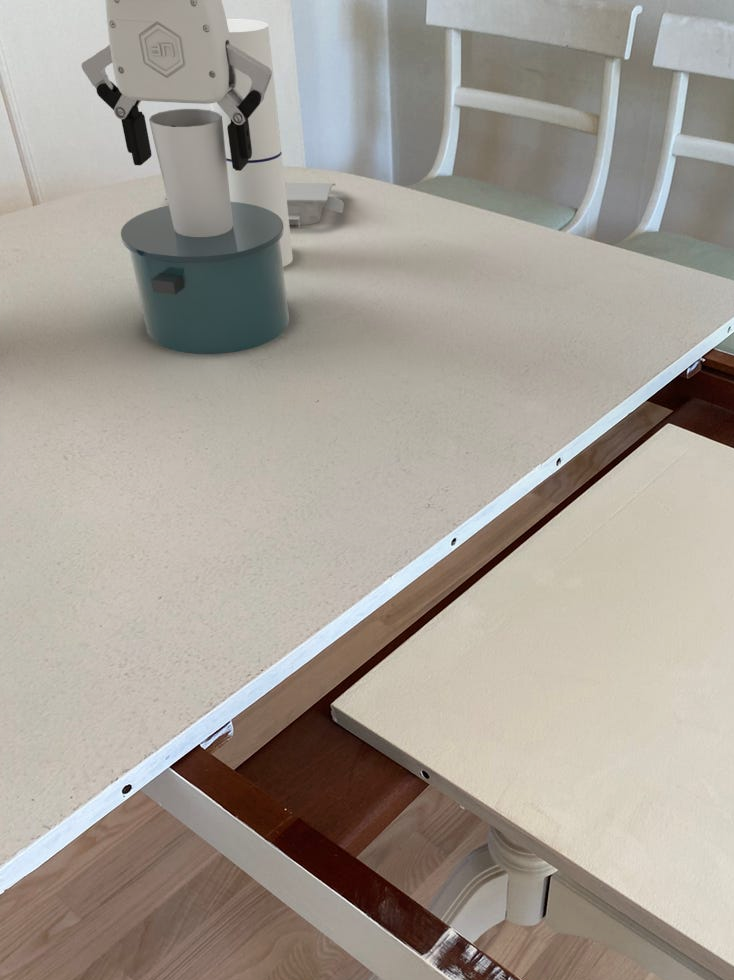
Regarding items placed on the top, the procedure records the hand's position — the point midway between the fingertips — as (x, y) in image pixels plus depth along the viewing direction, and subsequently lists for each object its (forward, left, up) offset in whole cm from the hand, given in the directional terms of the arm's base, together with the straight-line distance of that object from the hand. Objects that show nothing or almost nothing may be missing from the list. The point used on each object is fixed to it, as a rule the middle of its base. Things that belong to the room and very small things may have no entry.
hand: (192, 163), depth 94 cm
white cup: (0, 0, -6) cm, 6 cm away
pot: (0, 0, -17) cm, 17 cm away
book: (-22, +28, -17) cm, 39 cm away
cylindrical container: (-9, +16, -17) cm, 25 cm away
